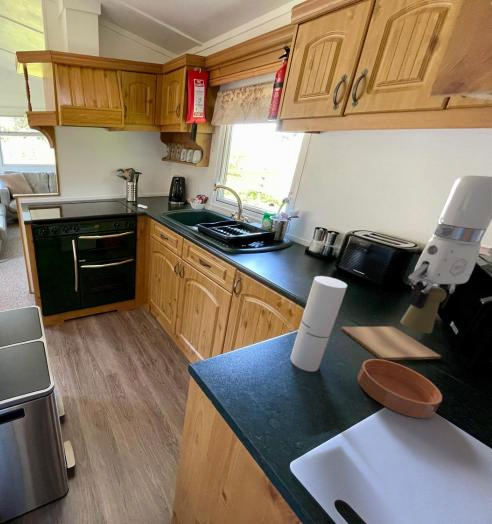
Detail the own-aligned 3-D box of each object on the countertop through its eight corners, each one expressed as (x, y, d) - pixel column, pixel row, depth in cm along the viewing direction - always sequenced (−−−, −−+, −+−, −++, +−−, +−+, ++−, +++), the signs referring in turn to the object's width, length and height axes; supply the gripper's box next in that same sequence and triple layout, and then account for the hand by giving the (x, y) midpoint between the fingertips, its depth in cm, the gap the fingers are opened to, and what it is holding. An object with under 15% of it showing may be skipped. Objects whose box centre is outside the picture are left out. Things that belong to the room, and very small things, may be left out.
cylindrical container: (303, 352, 85) (328, 275, 77) (324, 369, 79) (354, 286, 70) (284, 356, 83) (307, 277, 74) (304, 373, 77) (332, 289, 68)
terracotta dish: (391, 371, 80) (397, 358, 78) (451, 417, 66) (460, 402, 65) (343, 373, 78) (348, 359, 76) (394, 421, 64) (402, 405, 63)
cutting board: (391, 328, 102) (392, 326, 101) (440, 358, 87) (441, 356, 87) (340, 329, 99) (341, 326, 99) (382, 360, 84) (383, 357, 84)
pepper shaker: (395, 322, 74) (411, 283, 70) (407, 318, 76) (424, 280, 72) (424, 335, 69) (444, 293, 65) (437, 330, 71) (456, 290, 67)
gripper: (444, 237, 59) (410, 314, 66) (510, 239, 62) (472, 312, 68) (408, 228, 66) (380, 298, 73) (469, 230, 69) (437, 298, 75)
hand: (425, 304), depth 70 cm, fingers closed on pepper shaker, 5 cm apart
